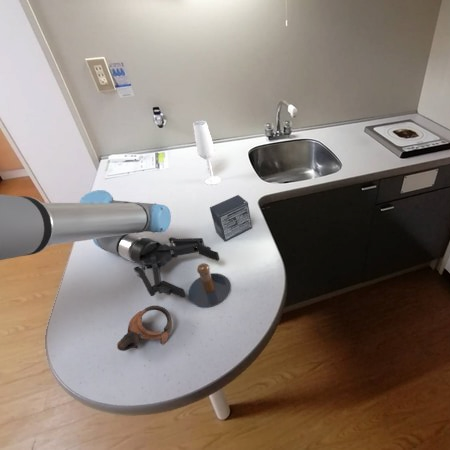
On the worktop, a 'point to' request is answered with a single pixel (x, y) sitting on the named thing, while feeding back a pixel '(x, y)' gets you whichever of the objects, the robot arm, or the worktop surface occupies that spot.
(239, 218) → the small box
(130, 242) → the robot arm
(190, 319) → the worktop surface
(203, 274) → the lid
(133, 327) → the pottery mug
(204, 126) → the champagne flute
